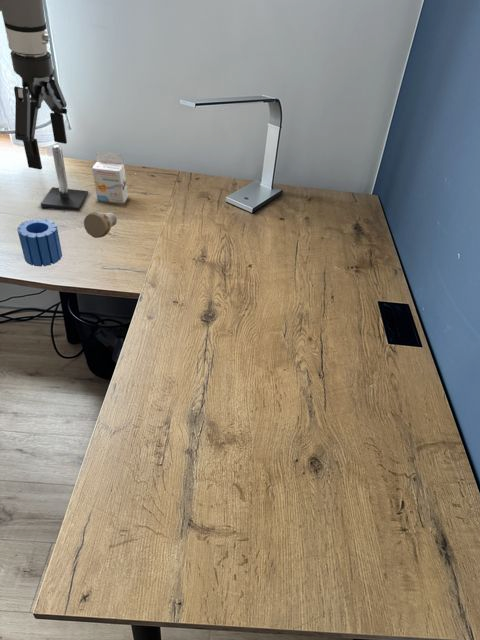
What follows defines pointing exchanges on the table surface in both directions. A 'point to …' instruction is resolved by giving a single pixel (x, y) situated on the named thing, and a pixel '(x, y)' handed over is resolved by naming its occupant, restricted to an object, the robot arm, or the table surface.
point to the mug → (99, 223)
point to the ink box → (110, 178)
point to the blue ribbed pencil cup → (40, 242)
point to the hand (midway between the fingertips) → (48, 154)
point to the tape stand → (62, 188)
